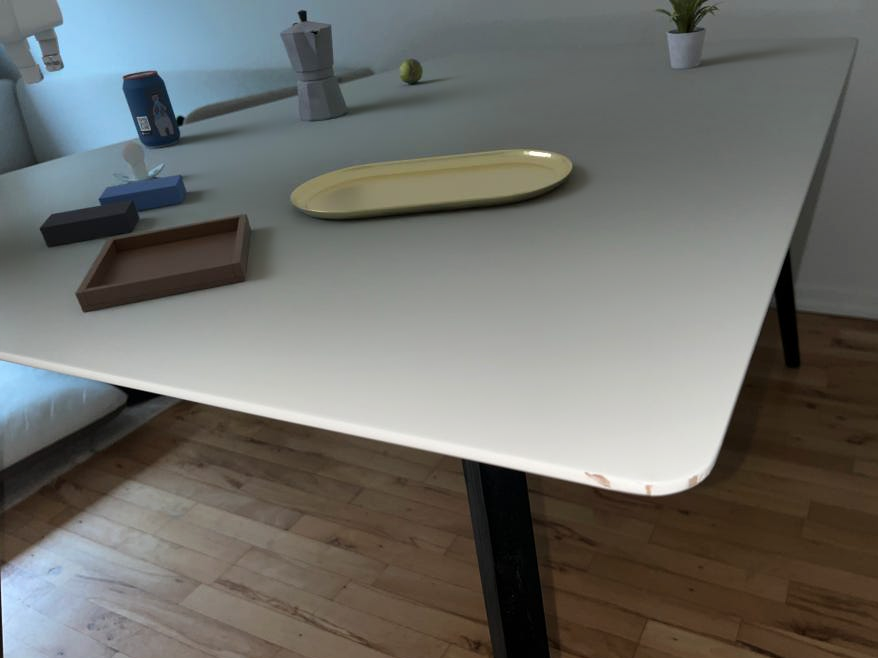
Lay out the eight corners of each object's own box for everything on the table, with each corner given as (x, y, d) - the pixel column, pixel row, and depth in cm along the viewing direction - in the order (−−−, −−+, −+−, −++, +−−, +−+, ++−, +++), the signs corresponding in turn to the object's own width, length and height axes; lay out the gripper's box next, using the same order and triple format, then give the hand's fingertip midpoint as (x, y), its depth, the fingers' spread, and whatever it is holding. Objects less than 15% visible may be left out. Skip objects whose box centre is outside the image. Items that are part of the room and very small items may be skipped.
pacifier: (169, 186, 108) (169, 175, 113) (155, 144, 105) (155, 134, 110) (117, 197, 106) (118, 185, 111) (100, 154, 103) (103, 144, 108)
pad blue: (105, 216, 98) (98, 198, 97) (113, 204, 103) (106, 186, 102) (182, 203, 100) (176, 185, 98) (186, 191, 104) (181, 174, 103)
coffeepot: (358, 115, 135) (338, 7, 126) (308, 126, 132) (284, 16, 123) (334, 103, 148) (314, 4, 138) (288, 113, 144) (264, 12, 135)
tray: (82, 312, 72) (74, 293, 71) (113, 254, 85) (107, 238, 84) (245, 280, 74) (239, 262, 73) (251, 229, 87) (246, 213, 86)
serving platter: (578, 202, 82) (578, 188, 82) (275, 231, 86) (271, 218, 85) (568, 155, 98) (567, 143, 98) (312, 180, 102) (310, 169, 101)
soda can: (156, 139, 137) (134, 71, 131) (189, 137, 135) (168, 68, 129) (134, 150, 131) (110, 79, 125) (169, 148, 130) (145, 76, 123)
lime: (398, 86, 156) (394, 61, 153) (412, 81, 159) (408, 56, 156) (414, 86, 153) (410, 61, 151) (428, 81, 157) (425, 56, 154)
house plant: (710, 75, 131) (714, -28, 122) (636, 75, 138) (635, -23, 129) (734, 59, 140) (740, -38, 132) (664, 59, 148) (666, -32, 139)
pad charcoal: (47, 247, 90) (38, 228, 89) (59, 232, 95) (51, 213, 93) (132, 232, 91) (125, 212, 90) (139, 218, 96) (132, 199, 95)
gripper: (-7, -53, 89) (42, 68, 96) (-75, -53, 72) (-10, 95, 79) (48, -61, 90) (92, 60, 97) (-6, -62, 72) (52, 85, 80)
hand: (46, 76), depth 88 cm, fingers open, 8 cm apart
